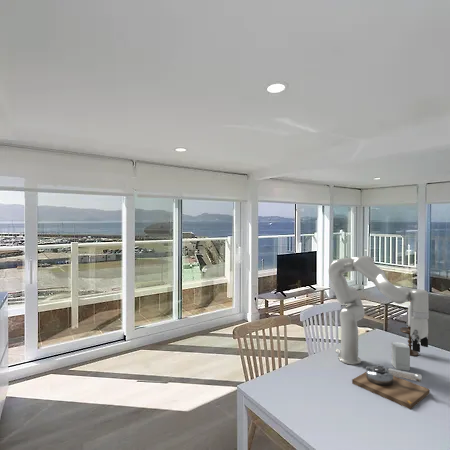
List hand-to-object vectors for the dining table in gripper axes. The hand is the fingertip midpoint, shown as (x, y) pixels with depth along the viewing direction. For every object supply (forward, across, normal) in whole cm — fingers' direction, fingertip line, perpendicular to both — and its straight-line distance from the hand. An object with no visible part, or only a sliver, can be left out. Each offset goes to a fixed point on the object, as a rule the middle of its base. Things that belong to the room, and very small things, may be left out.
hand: (420, 348), depth 152 cm
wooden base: (+18, +16, -8) cm, 25 cm away
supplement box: (+18, -12, -15) cm, 26 cm away
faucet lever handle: (+16, +14, -7) cm, 22 cm away
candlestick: (+18, -37, -20) cm, 46 cm away
